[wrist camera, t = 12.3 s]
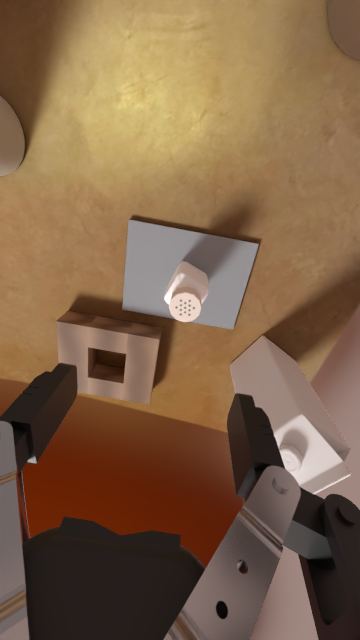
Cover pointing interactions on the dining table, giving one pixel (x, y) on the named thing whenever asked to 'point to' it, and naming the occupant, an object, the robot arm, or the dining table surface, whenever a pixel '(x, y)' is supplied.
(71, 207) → the dining table surface
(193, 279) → the salt shaker
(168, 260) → the placemat
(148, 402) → the shaker holder
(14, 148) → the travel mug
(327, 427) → the milk carton
